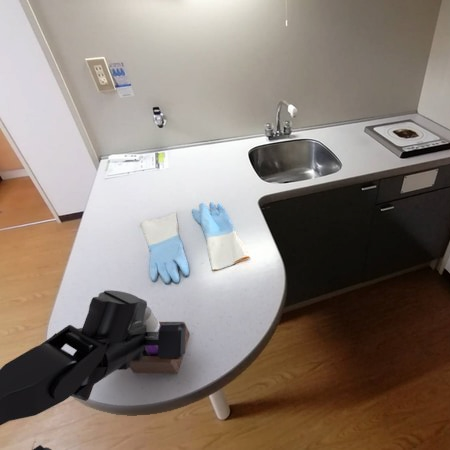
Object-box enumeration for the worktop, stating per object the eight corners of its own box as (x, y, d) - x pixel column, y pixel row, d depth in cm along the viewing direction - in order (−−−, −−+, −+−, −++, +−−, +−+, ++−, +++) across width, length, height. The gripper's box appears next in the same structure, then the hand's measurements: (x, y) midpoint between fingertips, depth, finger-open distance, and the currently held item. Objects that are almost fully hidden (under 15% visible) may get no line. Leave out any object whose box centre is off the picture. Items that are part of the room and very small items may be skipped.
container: (169, 363, 67) (146, 326, 57) (148, 363, 67) (121, 325, 57) (176, 343, 71) (155, 305, 61) (156, 342, 71) (132, 304, 61)
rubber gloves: (153, 294, 81) (145, 278, 77) (141, 224, 103) (134, 208, 99) (250, 259, 91) (248, 243, 86) (220, 201, 113) (217, 187, 109)
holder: (177, 373, 65) (170, 362, 62) (133, 373, 65) (124, 362, 62) (189, 333, 72) (184, 321, 69) (150, 333, 73) (143, 321, 69)
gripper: (167, 303, 50) (199, 290, 66) (55, 303, 50) (113, 290, 66) (165, 373, 49) (198, 344, 65) (51, 373, 50) (111, 343, 65)
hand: (155, 329), depth 65 cm, fingers open, 9 cm apart
